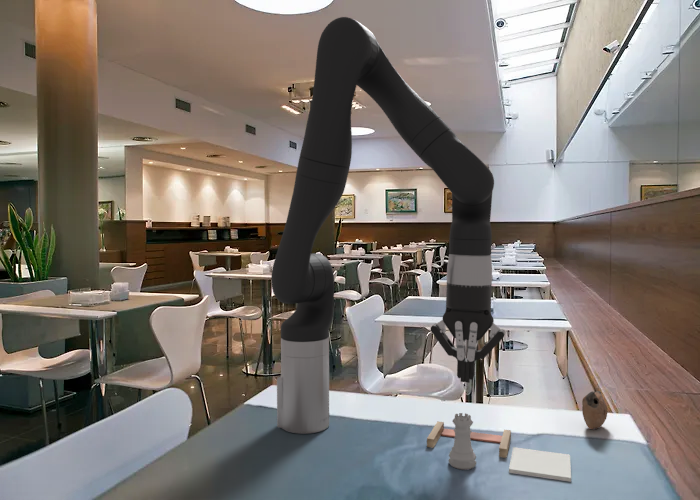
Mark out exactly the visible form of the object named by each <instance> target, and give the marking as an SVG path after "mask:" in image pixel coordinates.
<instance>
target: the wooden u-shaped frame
mask: <svg viewBox="0 0 700 500" xmlns="http://www.w3.org/2000/svg"><path fill="white" fill-rule="evenodd" d="M444 423H445V422H444V421H436V422H435V424H434V426H433V428H432V430H431V431H430V433H429V434H428V436H427V437H426V447H427V448H430V449H431V448H432V449H434V448H435V447H436V445H437V443H438V441H439V439H440V438H441V437H448V438H455V432H454V429H451V428H450V429H449V428H445V424H444ZM470 439H471V440H472V441H478V442H479V441H480V442H487V443H493V444H499V446H498V450H499V452H498V454H499V455H498V457H499V458H502V459H503V458H504V459H507V458H508V453H509V449H510V444H511V439H512V430H511V429H503V433H502V435H499V434H490V433H482V432H475V431H472V432H471V433H470Z"/></svg>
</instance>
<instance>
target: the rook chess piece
mask: <svg viewBox="0 0 700 500" xmlns="http://www.w3.org/2000/svg"><path fill="white" fill-rule="evenodd" d="M452 423H453V424H454V426H455V427H454V429H453V430H454V432H455V437H454V442H453V446H451V450H450V451H449V454H448V457H449V458H448V463H449V465H451V466H450V467H452V468H454V469H456V470H461V471H467V470H472V469H474V468H475V467H476V466H477V461H476V459H477V456H476V455H477V454H476V453H475V452H474V449H473V446H472V441H471V439H470V433H471V432H473V431H472V430H471V426H473V424H474V421H473V420H472V417H471V415H470V414H468V413H464V415H463V412H459V413H455V414H454V418H453V419H452Z"/></svg>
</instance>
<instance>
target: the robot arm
mask: <svg viewBox="0 0 700 500" xmlns="http://www.w3.org/2000/svg"><path fill="white" fill-rule="evenodd" d="M316 51H317V52H316V58H315V59H316V62H315V70H314V83H313V91H312V98H311V103H310V109H309V111H308V116H307V121H306V124H305V125H306V126H305V129H304V130H305V131H304V136H303V141H302V145H301V149H300V154H299V158H298V163H297V168H296V172H295V181H294V185H293V192H292V195H291V199H290V205H289V209H288V213H287V217H286V223H285V225H284V229H283V232H282V236H281V239H280V242H279V245H278V249H277V251H276V255H275V258H274V261H273V264H272V265H273V266H272V268H271V269H272V270H271V282H270V283H271V289H272V292H273V294H274V296H275V299H277V300H278V301H279V302H280V303H282V304H286V305H287V304H288V305H293V304H294V305H295V304H297V305H296V308H295V309H294V312H293V313H292V314H291V315H290V316H289V317H288V318H286V319H285V320H284V321H283V322H282V323H281V325H280V376H278V377H277V378H276V405H277V406H276V414H277V416H276V420H277V421H276V422H277V423H276V425H277V426H276V427H277V428H279V429H280V428H281V429H283V430H284V431H286V432H289V433H293V434H306V435H307V434H314V433H319V432H323V431H324V430H326V429H328V427H330V341H329V340H330V327H331V325H332V322H333V318H334V301H335V275H334V273H335V272H334V269H333V266H332V264H331V262H330V261H329V259H328V258H327V256H325V255H323V254H321V253H312V252H313V251H312V250H313V246H314V243H315V240H316V238H317V236H318V234H319V231H320V229H321V227H322V226H323V225H324V223H325V222H326V220H327V219H328V217H329V216H330V215H331V213H332V212H333V211H334V209H335V208H336V206H337V205H338V203H339V202H340V200H341V198H342V197H343V194H344V192H345V189H346V185H347V181H348V176H349V173H350V167H351V162H352V153H353V150H352V148H353V136H352V135H353V134H352V133H353V132H352V107H353V100H354V98H355V97H354V96H355V93H356V88H357V87H359V88H360V89H361V90H362V91H363V92H365V93H366V94H367V95H368V96H369V97H370V98H372V100H373V101H374V102H375V103H376V104H377V105H378V107H379V108H380V109H381V110H382V111H383V113H384V114H385V115H386V117H387V118H388V120H389V122H390V123H391V125H392V126H393V128H394V129H395V130H396V132H397V133H398V134H399V136H400V137H401V138H402V140H404V142H405V143H406V144H407V146H408V147H409V148H410V149H411V150H412V151H413V152H414V153H415V154H416V155H417V156H418V157H419V158H420V160H421V161H423V163H424V164H425V165H426V166H427V167H428V168H431V169H432V170H433V172H434V173H435V174H436V176H437V177H438V178H439V179H440V181H442V183H443V184H444V185H445V186H446V188H447V189H448V190H449V191H450V192H451V224H450V229H449V239H448V240H449V241H448V242H449V243H448V246H449V247H448V253H449V254H448V259H447V260H448V261H447V268H446V289H445V291H446V295H445V297H446V298H445V311H444V313H443V315H442V319H441V320H440V321H439V322H437V323H433V325H431V327H430V332H431V333H432V335H433V336H434V337H435V339H436V340H437V341H438V343H439V345H440V346H441V347H442V349H443V350H444V352H445V353H446V354H447V355H448V356H451V357H453V358H455V359H456V360H457V362H456V363H457V364H456V366H457V367H456V376H457V378H458V379H460V382H461V383H471V380H472V381H473V379H474V378H475V375H476V361H477V360H484V359H485V358H487V356H488V355H489V354H490V353H491V351H493V349H494V348H496V346H497V345H498V344H499V343H500V342H501V341H502V339H503V338H504V337H505V336H506V335H505V334H506V331H505V329H504V328H500V327H499V326H498V325H497V324H495V322H494V316H493V315H492V290H493V288H492V287H493V284H492V282H493V265H492V242H493V241H492V239H493V238H492V236H493V235H492V233H493V232H492V226H491V218H492V217H491V215H492V201H493V190H494V187H495V180H494V179H495V178H494V174H493V173H492V171H491V169H490V168H489V167H488V166H487V165H486V164H485V163H484V162H483V161H482V160H481V158H479V157H478V156H477V155H476V154H475V153H474V152H473V151H472V150H471V149H469V147H467V146H466V145H465V144H464V143H463V142H462V141H461V140H460V139H459V137H458V136H457V135H456V133H455V132H454V131H453V130H452V129H451V128H450V127H449V125H448V124H447V123H446V122H445V121H444V120H443V119H442V118H441V116H439V115H438V113H437V112H436V111H434V109H433V108H432V107H431V106H430V105H429V104H428V103H427V102H425V100H424V99H423V98H422V97H420V95H419V94H418V93H417V92H416V91H415V90H414V89H412V87H411V86H410V85H409V83H407V81H406V80H405V79H404V78H403V77H402V76H401V75H400V73H399V72H398V70H397V69H396V68H395V67H394V64H392V62H391V61H390V60H389V58H388V57H387V55H386V53H385V52H384V50H383V48H382V46H381V45H380V44H379V42H378V40H377V38H376V36H375V35H374V33H373V32H372V31H371V30H369V28H368V27H366V26H365V25H363V24H362V23H361V22H359V21H358V20H356V19H355V18H352V17H348V16H341V17H337V18H335V19H333V20H332V21H330V22H329V23H328V24H327V25H326V27H324V29H323V30H322V32H321V35H320V37H319V40H318V43H317V50H316ZM447 330H448V331H449V332H450V334H451V336H452V337H453V338H454V339H455V345H454V344H453V342H452V341H451V340H450V338H449V337H448V335H447V333H446V332H447ZM489 330H490V332H489V338H490V339H489V340H488V341H487V342H486V343H485V344H484V345H483V346H482V347H481V349H478V343H479V341H480V340H481V339H482V338H483V337H484V336H485V334H486V333H487V332H488V331H489ZM467 341H468V342H467ZM467 343H468V344H467ZM466 345H467V346H466ZM477 349H478V350H477Z"/></svg>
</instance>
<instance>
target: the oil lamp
mask: <svg viewBox="0 0 700 500" xmlns="http://www.w3.org/2000/svg"><path fill="white" fill-rule="evenodd" d="M581 405H582V406H581V407H582V408H581V409H582V410H581V411H582V412H581V413H582V417H583V420H584V422H585V425H586V426H587V427H588V429H590V430H597V429H599V428H602V426H604V424H605V421H606V420H607V417H608V405H607V403H606V401H605V399H604V397H603V394H602V391H601V390H597V391H590V392H589V393H587V394H586V395H584V396H583V398H582V400H581Z"/></svg>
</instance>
